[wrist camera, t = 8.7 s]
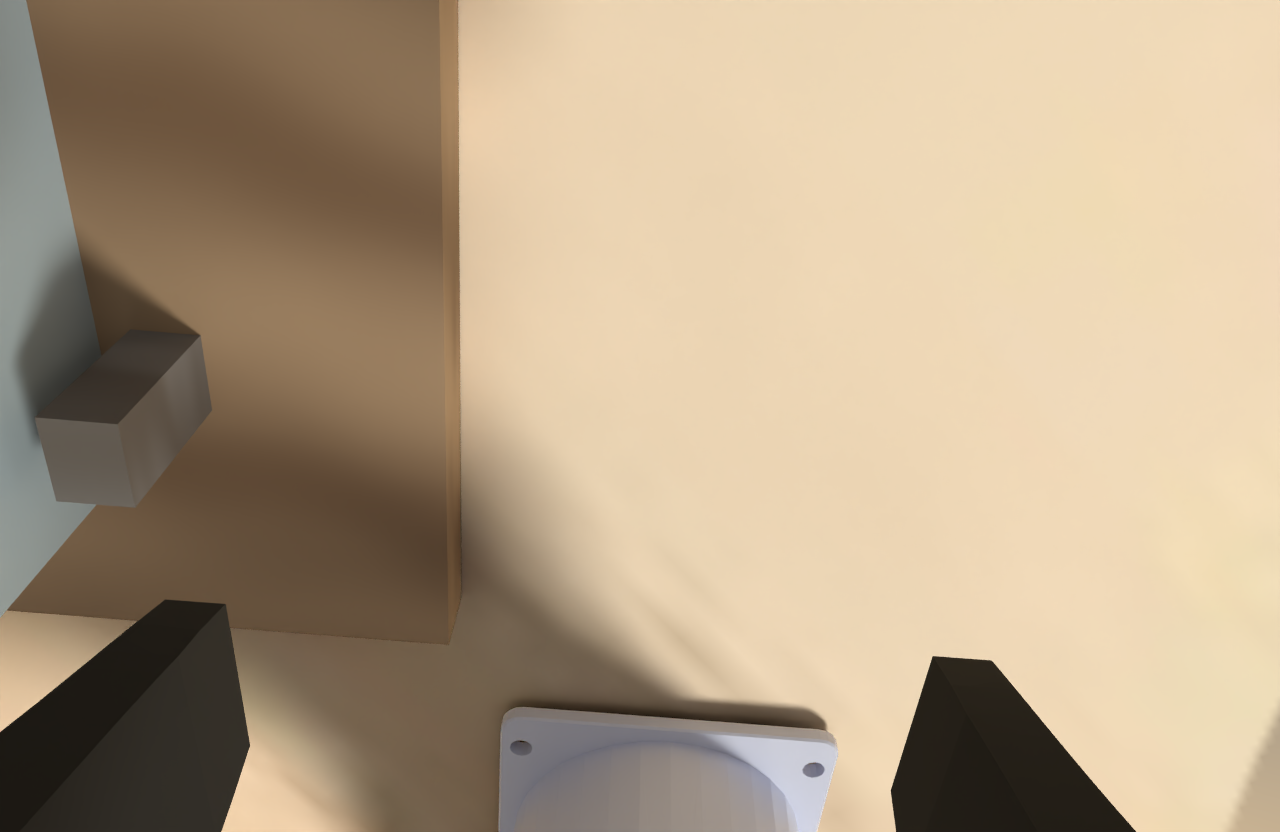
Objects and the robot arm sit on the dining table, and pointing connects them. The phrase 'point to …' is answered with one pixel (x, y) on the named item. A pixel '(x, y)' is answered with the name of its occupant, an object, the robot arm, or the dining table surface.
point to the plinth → (260, 312)
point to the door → (33, 309)
